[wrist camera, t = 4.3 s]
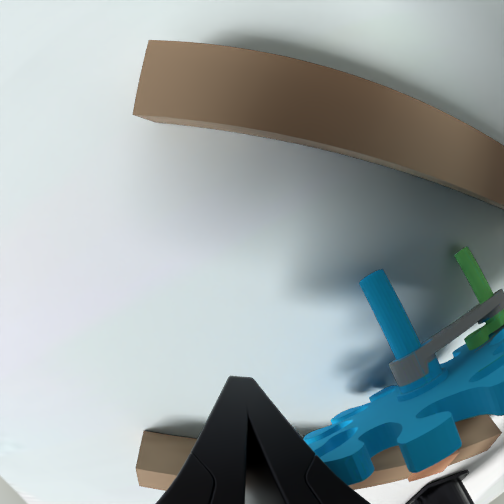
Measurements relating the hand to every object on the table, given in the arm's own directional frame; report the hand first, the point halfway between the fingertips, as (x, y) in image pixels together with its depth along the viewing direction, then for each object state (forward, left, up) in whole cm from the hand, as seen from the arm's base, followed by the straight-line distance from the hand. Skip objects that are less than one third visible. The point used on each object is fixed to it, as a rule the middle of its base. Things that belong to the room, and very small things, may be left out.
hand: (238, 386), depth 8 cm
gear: (-7, 0, -3) cm, 8 cm away
